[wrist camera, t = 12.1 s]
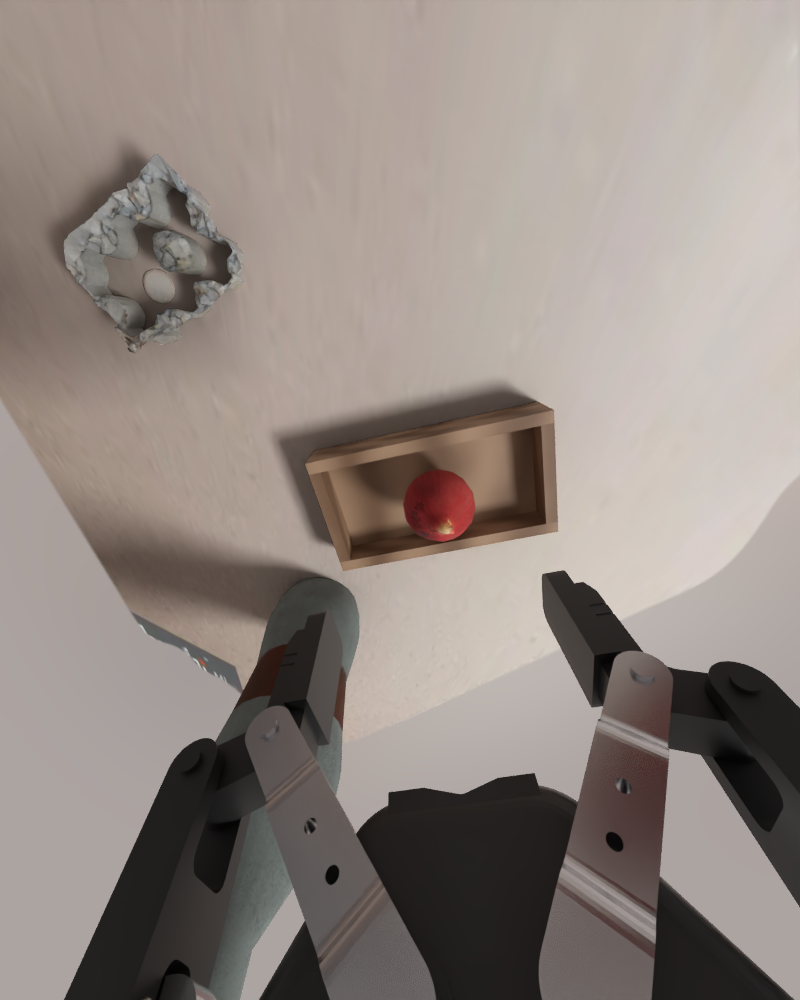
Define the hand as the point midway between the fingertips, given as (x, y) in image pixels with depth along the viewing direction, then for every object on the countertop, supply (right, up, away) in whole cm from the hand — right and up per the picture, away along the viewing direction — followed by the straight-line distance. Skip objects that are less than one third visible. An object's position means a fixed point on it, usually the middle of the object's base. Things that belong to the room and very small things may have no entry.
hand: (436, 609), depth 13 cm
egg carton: (-18, +21, +13) cm, 31 cm away
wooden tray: (+2, +6, +20) cm, 21 cm away
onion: (+2, +5, +20) cm, 20 cm away
